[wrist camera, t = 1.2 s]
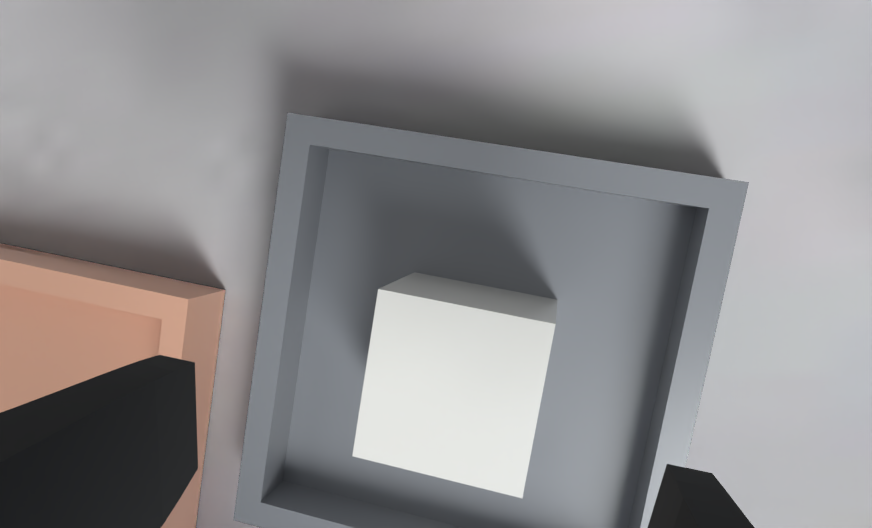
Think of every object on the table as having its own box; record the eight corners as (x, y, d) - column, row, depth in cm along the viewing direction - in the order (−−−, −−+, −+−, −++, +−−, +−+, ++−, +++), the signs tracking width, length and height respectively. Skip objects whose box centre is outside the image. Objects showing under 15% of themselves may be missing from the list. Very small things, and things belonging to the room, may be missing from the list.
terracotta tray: (183, 628, 23) (144, 671, 21) (-102, 539, 26) (-163, 569, 24) (225, 289, 22) (188, 299, 20) (-82, 225, 24) (-145, 228, 22)
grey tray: (638, 588, 20) (648, 634, 18) (265, 489, 22) (233, 520, 20) (727, 185, 19) (748, 182, 16) (316, 121, 21) (287, 112, 19)
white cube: (530, 440, 20) (522, 498, 16) (393, 408, 20) (352, 456, 17) (557, 299, 19) (555, 323, 15) (414, 272, 20) (378, 288, 16)
